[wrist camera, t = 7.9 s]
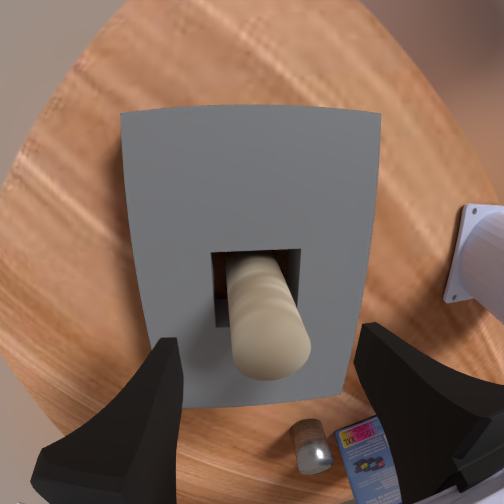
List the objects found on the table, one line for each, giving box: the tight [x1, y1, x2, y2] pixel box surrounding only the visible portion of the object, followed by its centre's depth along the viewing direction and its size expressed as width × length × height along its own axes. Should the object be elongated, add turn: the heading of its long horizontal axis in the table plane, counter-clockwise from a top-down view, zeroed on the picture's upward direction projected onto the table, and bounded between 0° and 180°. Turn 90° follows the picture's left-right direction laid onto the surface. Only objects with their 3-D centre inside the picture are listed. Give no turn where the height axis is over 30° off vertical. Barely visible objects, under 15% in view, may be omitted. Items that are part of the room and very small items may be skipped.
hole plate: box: [120, 105, 381, 408], centre depth 18 cm, size 12×18×3 cm, turn 0°
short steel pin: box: [290, 419, 334, 475], centre depth 24 cm, size 3×3×4 cm
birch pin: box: [225, 250, 311, 381], centre depth 15 cm, size 3×3×8 cm
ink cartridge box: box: [334, 416, 402, 504], centre depth 22 cm, size 10×6×14 cm, turn 23°
